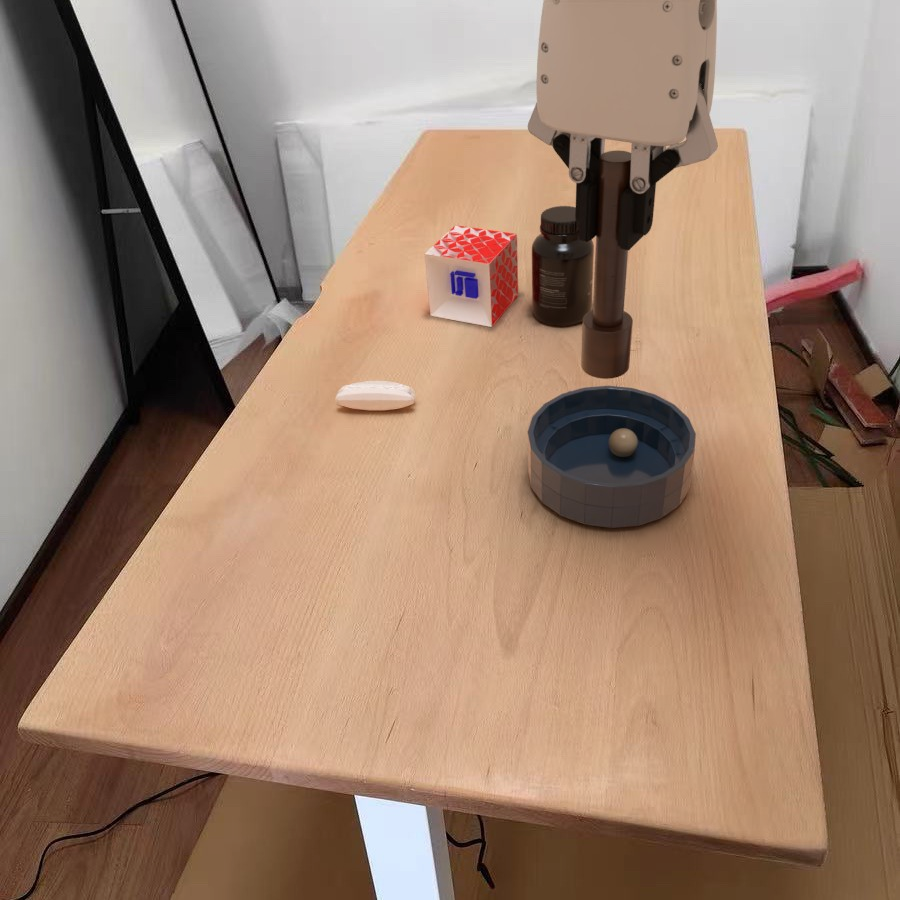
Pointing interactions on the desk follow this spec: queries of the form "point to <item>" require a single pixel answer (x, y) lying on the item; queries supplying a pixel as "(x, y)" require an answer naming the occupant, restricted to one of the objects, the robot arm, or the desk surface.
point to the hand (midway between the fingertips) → (612, 235)
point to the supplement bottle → (561, 269)
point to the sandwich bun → (375, 396)
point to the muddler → (609, 278)
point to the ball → (623, 442)
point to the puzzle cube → (472, 275)
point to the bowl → (610, 456)
